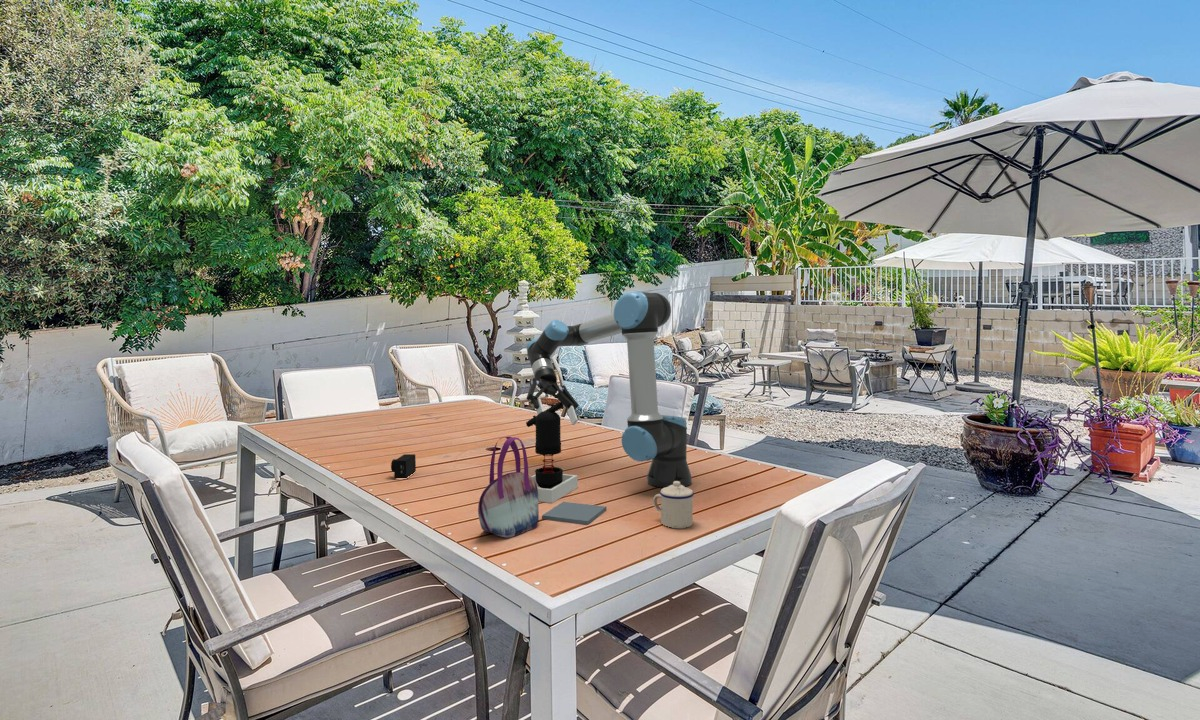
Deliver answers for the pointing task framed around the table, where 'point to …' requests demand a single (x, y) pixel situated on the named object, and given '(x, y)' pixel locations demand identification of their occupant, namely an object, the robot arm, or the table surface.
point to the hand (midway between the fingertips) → (558, 419)
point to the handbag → (509, 497)
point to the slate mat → (574, 513)
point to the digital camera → (404, 466)
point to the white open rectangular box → (557, 489)
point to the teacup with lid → (675, 506)
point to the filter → (548, 445)
